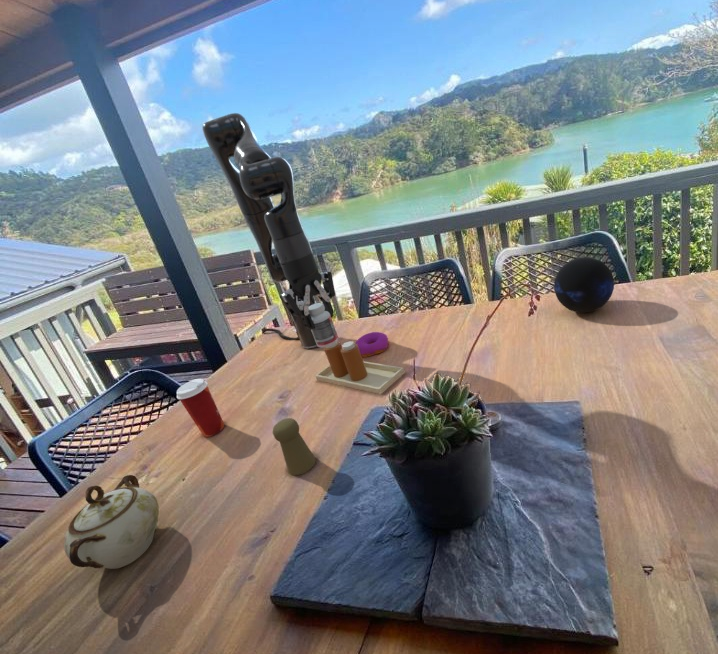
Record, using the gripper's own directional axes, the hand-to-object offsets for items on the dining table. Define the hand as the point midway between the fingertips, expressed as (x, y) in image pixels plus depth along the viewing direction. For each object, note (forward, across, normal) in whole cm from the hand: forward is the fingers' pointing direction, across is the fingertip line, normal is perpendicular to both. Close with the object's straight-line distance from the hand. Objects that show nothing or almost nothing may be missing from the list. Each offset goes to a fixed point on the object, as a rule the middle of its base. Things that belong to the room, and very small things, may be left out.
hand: (320, 322), depth 102 cm
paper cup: (+22, +24, -29) cm, 44 cm away
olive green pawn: (+22, +22, +8) cm, 32 cm away
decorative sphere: (+22, -56, +41) cm, 73 cm away
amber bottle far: (+22, -9, -12) cm, 26 cm away
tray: (+22, -9, -5) cm, 24 cm away
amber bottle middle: (+22, -9, -5) cm, 24 cm away
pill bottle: (+6, 0, 0) cm, 6 cm away
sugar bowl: (+22, +52, -8) cm, 57 cm away
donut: (+22, -23, -12) cm, 34 cm away
